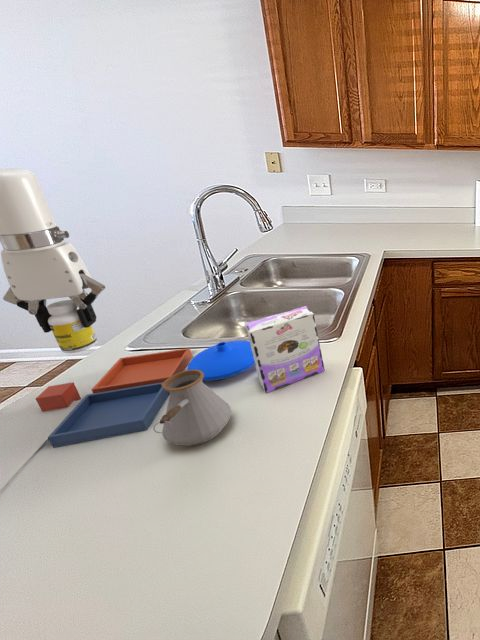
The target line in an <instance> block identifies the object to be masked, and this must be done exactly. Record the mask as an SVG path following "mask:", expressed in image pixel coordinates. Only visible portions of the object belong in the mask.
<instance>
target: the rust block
mask: <svg viewBox="0 0 480 640" xmlns="http://www.w3.org/2000/svg"><path fill="white" fill-rule="evenodd" d="M81 400H82V398H81V395H80V393H79V391H78V389H77V387H76V384H75V383H74V382H67V383H61V384H55V385H49V386H47V387H46V388H45V389H44V390H43V391H41V393H40V394H39V395H38V396H36V397H35V401H36V403H37V405H38V407H39V409H40V411H41V412H48V411H54V410H60V409H67V408H69V406H71V405H72V404H73V402H77V401H81Z"/></svg>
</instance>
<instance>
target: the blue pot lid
mask: <svg viewBox="0 0 480 640" xmlns="http://www.w3.org/2000/svg"><path fill="white" fill-rule="evenodd" d="M254 365H255V361H254V357H253V353H252V349H251V345H250V342H249V340H232V341H220V342H218V343H216V344H215V345H212V346H210V347H208V348H205V349H203V350H202V351H200V352H199V353H197V354H196V355H194V357H192V358H191V360H190V361H189V363H188V364H187V370H195V369H196V370H201V371H202V372H203V373H204V377H203V379H202V381H217V380H223V379H226V378H230V377H233V376H236V375H238V374H241V373H243V372H244V371H246V370H249V368H251V367H253V366H254Z"/></svg>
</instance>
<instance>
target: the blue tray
mask: <svg viewBox="0 0 480 640" xmlns="http://www.w3.org/2000/svg"><path fill="white" fill-rule="evenodd" d="M162 383H163V382H162ZM162 383H155V384H149V385H143V386H137V387H131V388H125V389H119V390H113V391H106V392H100V393H94V394H93V393H88V394H86V395H85V396H84V397H83V398H81V399H80V401H79V402H78V403H77V404H76V406H75V407H74V408H73V409H72V410H71V411H70V412H69V414H68V415H66V417H64V418H63V420H62V421H61V422H60V423H59V424H58V425H57V426H56V428H55V429H53V431H52V432H51V433H50V434H49V435H48V436H47V440H48V441H49V443H50V445H51V446H52V448H53V449H54V448H58V447H65V446H70V445H74V444H80V443H86V442H90V441H95V440H101V439H106V438H110V437H111V438H112V437H116V436H121V435H127V434H133V433H137V432H142V431H143V432H144V431H148V429H149V427H150V426H151V425H152V422H153V421H154V420H155V418H156V416H157V414H158V413H159V411H160V409H161V408H162V407H163V404H164V403H165V402H166V400H167V398H168V397H169V396H170V392H169V391H167V390H165V389H164V388H163V387H162V386H161V384H162Z"/></svg>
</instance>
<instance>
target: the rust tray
mask: <svg viewBox="0 0 480 640" xmlns="http://www.w3.org/2000/svg"><path fill="white" fill-rule="evenodd" d="M192 359H193V353H192V350H191V348H190V347H188V348H181V349H174V350H168V351H159V352H152V353H147V354H138V355H132V356H125V357H120V358H119V359H118V360H117V361H116V362H115V363H114V364H113V365H112V366H111V367H110V369H109V370H107V372H106V373H105V374H103V376H102V378H100V379H99V381H98V382H96V384H95V385H94V386H93V387H92V388H91V392H92V394H94V393H100V392H106V391H113V390H119V389H125V388H131V387H137V386H143V385H149V384H155V383H162V382H164V381H165V380H167V379H168V378H170V377H171V376H173V375H175V374H177V373H180V372H183V371H185V370H186V368H187V367H188V365H189V363H190V362H191V360H192Z"/></svg>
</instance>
